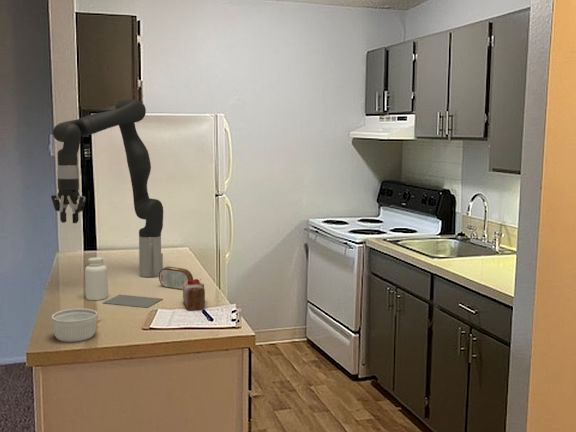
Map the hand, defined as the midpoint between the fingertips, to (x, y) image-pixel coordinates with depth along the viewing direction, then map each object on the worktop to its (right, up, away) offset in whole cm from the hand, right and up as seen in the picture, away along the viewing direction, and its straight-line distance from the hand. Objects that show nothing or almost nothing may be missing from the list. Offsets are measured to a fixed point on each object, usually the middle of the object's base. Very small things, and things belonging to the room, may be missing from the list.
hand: (69, 222), depth 238 cm
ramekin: (+17, -34, -45) cm, 60 cm away
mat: (+25, -29, -6) cm, 39 cm away
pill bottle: (+11, -28, -2) cm, 30 cm away
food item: (+48, -30, -10) cm, 58 cm away
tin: (+37, -27, +14) cm, 48 cm away
